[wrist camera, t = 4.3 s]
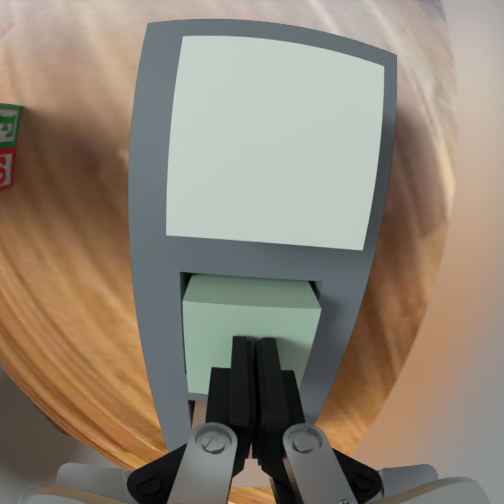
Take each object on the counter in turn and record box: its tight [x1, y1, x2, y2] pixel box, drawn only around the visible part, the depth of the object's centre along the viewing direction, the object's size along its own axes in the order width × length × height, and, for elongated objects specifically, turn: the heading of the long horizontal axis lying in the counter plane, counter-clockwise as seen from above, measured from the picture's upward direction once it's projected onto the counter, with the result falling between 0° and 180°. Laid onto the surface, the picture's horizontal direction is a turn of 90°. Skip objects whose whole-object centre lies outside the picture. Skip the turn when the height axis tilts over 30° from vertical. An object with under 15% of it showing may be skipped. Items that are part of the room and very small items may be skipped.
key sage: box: [183, 273, 322, 394], centre depth 13 cm, size 5×5×5 cm
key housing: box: [128, 19, 397, 453], centre depth 14 cm, size 26×10×6 cm, turn 175°
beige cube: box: [191, 401, 271, 487], centre depth 14 cm, size 5×5×5 cm
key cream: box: [166, 36, 384, 251], centre depth 8 cm, size 5×5×5 cm
